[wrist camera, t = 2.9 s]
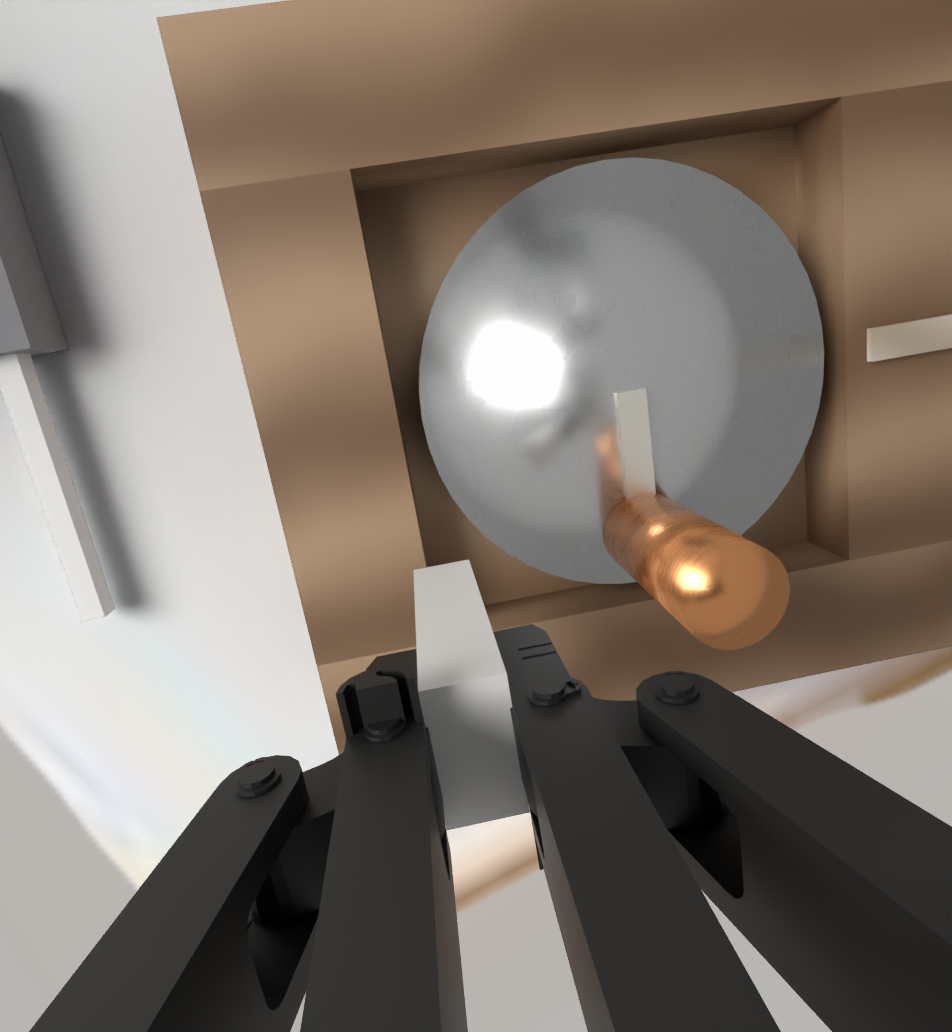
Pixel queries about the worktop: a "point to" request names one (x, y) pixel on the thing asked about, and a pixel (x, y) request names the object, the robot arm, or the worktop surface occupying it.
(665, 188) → the dial
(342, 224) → the housing
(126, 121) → the worktop surface
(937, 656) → the worktop surface
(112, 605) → the screwdriver
